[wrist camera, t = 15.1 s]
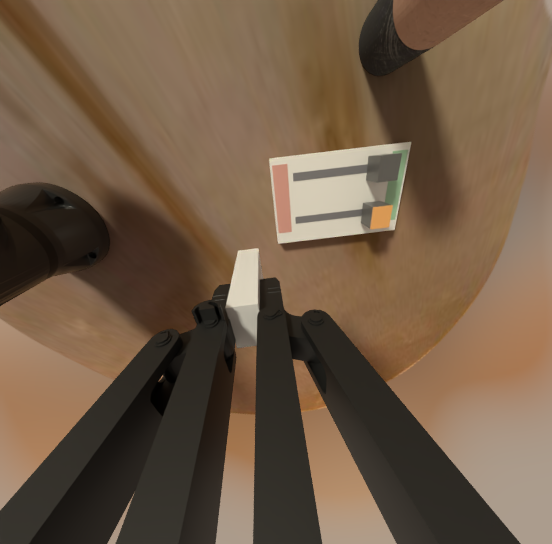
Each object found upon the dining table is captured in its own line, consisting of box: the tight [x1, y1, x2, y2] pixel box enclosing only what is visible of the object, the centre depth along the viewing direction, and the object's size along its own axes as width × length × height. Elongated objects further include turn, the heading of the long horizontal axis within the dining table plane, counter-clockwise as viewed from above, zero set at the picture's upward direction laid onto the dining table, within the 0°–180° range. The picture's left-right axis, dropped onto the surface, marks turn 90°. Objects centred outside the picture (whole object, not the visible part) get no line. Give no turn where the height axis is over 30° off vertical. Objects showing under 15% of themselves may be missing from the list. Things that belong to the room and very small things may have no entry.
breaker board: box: [269, 142, 411, 244], centre depth 34 cm, size 22×14×6 cm, turn 96°
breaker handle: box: [361, 201, 393, 229], centre depth 34 cm, size 3×4×4 cm
